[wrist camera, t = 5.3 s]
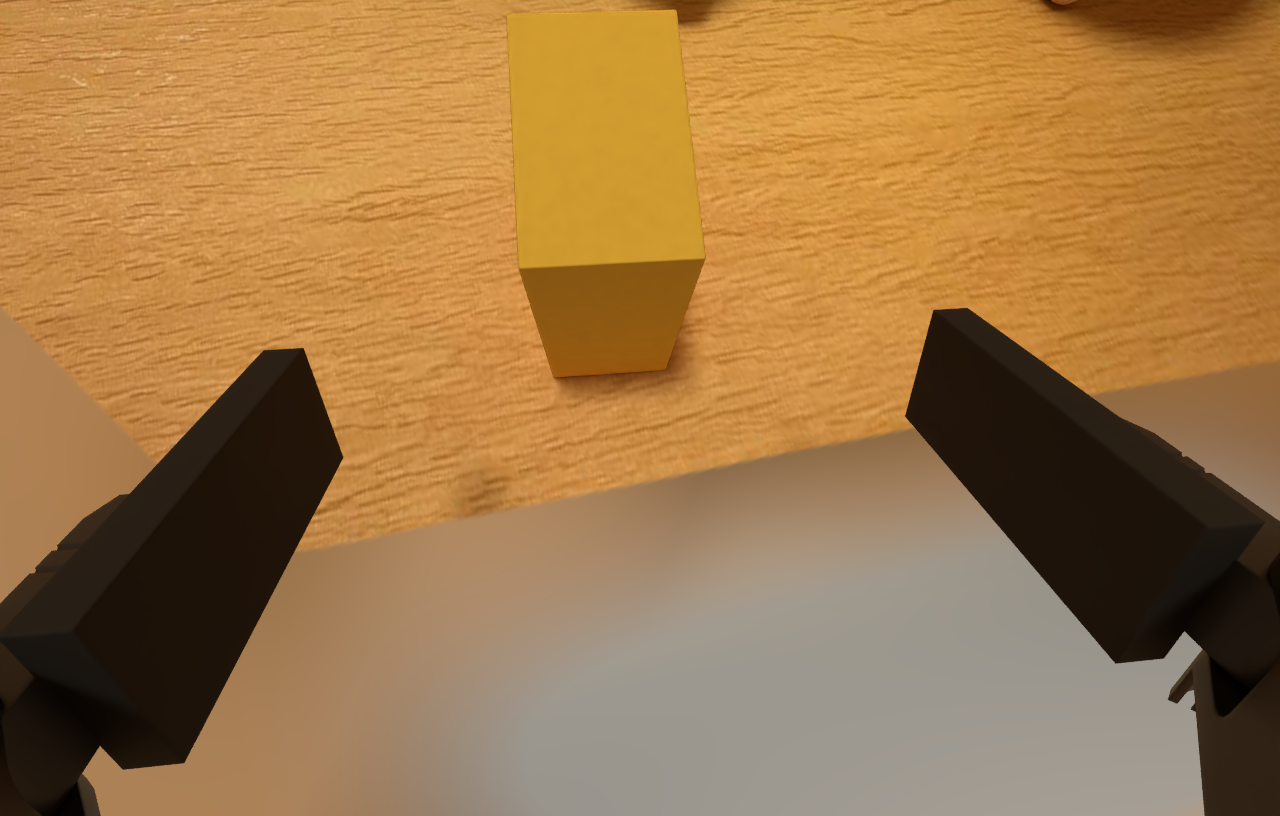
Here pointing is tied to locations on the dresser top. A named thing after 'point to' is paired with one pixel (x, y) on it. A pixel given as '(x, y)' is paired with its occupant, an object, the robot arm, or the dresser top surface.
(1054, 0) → the planter
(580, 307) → the yellow block
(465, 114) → the dresser top surface
